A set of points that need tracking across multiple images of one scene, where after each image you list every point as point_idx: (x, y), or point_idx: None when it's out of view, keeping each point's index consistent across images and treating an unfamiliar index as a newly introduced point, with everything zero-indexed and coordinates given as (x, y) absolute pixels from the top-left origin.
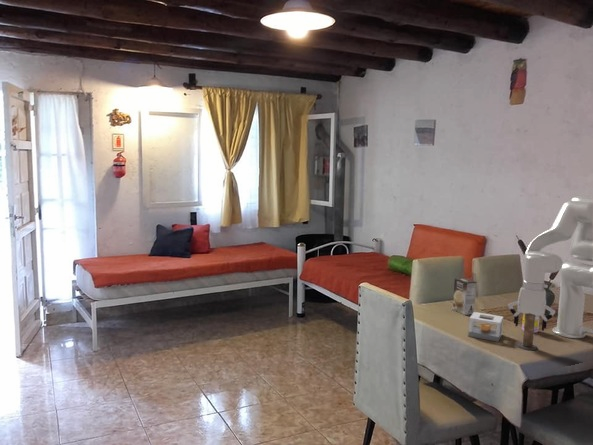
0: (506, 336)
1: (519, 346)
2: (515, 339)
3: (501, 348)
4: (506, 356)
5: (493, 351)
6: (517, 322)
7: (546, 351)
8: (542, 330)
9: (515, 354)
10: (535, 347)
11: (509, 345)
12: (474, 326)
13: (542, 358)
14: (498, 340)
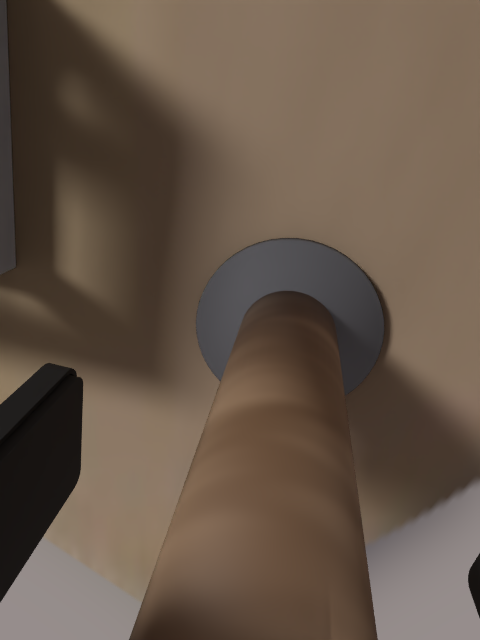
0: (69, 10)
1: (207, 361)
2: (178, 98)
3: None
4: (113, 554)
5: None
6: (39, 540)
7: (459, 387)
8: (477, 584)
9: (171, 512)
10: (364, 347)
11: (121, 334)
12: None
13: (367, 540)
14: (7, 269)
